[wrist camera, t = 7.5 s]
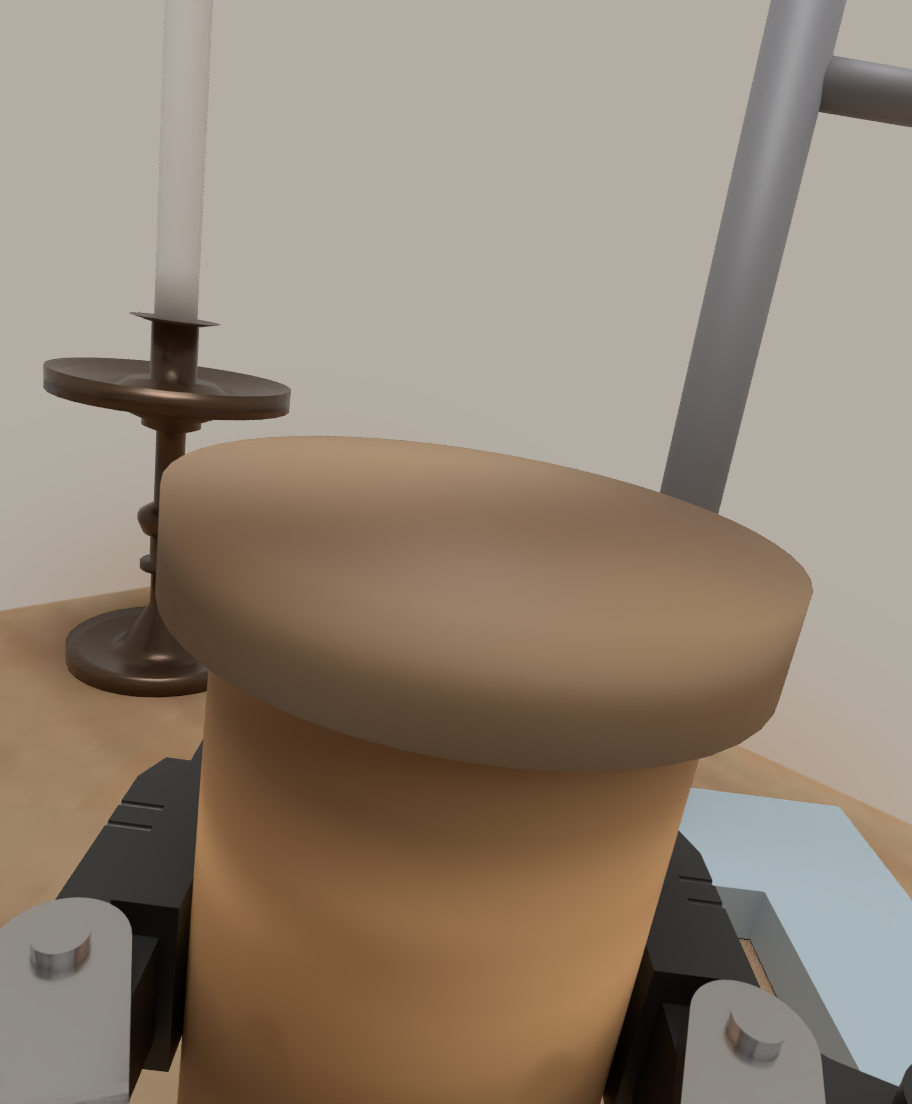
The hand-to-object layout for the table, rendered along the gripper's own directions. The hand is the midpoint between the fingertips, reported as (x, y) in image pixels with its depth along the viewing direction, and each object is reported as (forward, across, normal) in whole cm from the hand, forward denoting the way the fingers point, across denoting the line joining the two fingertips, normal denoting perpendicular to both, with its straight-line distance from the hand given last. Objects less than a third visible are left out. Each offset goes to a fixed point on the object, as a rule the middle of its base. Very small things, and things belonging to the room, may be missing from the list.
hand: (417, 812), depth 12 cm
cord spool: (-3, 0, +7) cm, 7 cm away
